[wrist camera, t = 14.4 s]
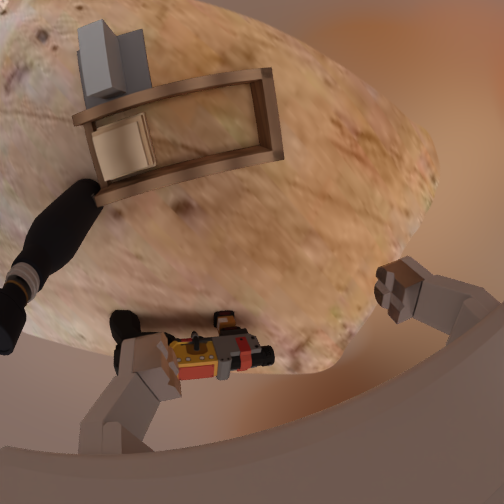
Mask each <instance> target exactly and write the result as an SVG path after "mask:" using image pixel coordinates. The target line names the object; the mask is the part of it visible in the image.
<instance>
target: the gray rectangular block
mask: <svg viewBox="0 0 504 504" xmlns="http://www.w3.org/2000/svg"><path fill="white" fill-rule="evenodd" d="M78 39H79V48H80V56H81V64H82V71H83V77H84V83H85V89H86V94H87V96H88V97H95V98H102V99H110V98H113V97H116V96H119V95H122V94H125V93H127V90H126V84H125V79H124V73H123V67H122V61H121V55H120V48H119V41H118V38H117V37H116V35H115V34H114V33H113V32H112V30H111V29H110V28H109V27H108V25H107V24H106V23H105V22H104V21H103V19H101V20H98V21H96V22H93V23H90V24H88V25H85V26H83V27H81V28H78Z"/></svg>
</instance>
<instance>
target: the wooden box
mask: <svg viewBox="0 0 504 504" xmlns="http://www.w3.org/2000/svg"><path fill="white" fill-rule="evenodd" d="M246 83H250V85H251V91H252V97H253V104H254V110H255V116H256V123H257V129H258V136H259V143H260V145H259V146H253V147H248V148H243V149H238V150H233V151H228V152H223V153H219V154H214V155H210V156H205V157H201V158H197V159H193V160H189V161H185V162H181V163H177V164H173V165H170V166H166V167H162V168H159V169H155V170H152V171H148V172H145V173H142V174H138V175H135V176H132V177H129V178H125V179H122V180H119V181H116V182H113V183H111V181H110V180H107V181H104V177H103V174H102V171H101V168H100V164H99V161H98V157H97V154H96V150H95V147H94V143H93V139H92V138H93V137H92V133H93V132H95V131H97V129H96V125H95V121H97V120H99V119H102V118H105V117H107V116H110V115H113V114H116V113H119V112H122V111H125V110H128V109H131V108H135V107H138V106H141V105H145V104H148V103H152V102H155V101H159V100H163V99H167V98H171V97H175V96H179V95H184V94H188V93H193V92H198V91H203V90H208V89H213V88H219V87H225V86H231V85H238V84H246ZM72 119H73V124H74V126H79V125H84V129H85V133H86V138H87V142H88V145H89V149H90V153H91V157H92V160H93V164H94V168H95V171H96V174H97V178H98V181H99V184H100V188H101V190H100V191H99V192H98V193H97V194H96V196H95V197H94V199H95V201H96V204H97V207H101V206H103V205H106V204H109V203H113V202H116V201H119V200H122V199H125V198H128V197H131V196H135V195H138V194H141V193H145V192H148V191H151V190H155V189H158V188H162V187H166V186H169V185H173V184H177V183H180V182H184V181H188V180H192V179H196V178H200V177H204V176H208V175H212V174H217V173H221V172H225V171H230V170H234V169H239V168H244V167H248V166H253V165H258V164H263V163H269V162H274V161H279V160H284V152H283V144H282V136H281V129H280V121H279V114H278V107H277V100H276V93H275V87H274V80H273V74H272V67H270V68H258V69H249V70H240V71H232V72H225V73H219V74H213V75H207V76H202V77H196V78H191V79H187V80H182V81H177V82H173V83H169V84H165V85H161V86H157V87H153V88H150V89H146V90H143V91H139V92H136V93H133V94H129V95H126V96H123V97H120V98H117V99H114V100H111V101H108V102H106V103H103V104H100V105H98V106H95V107H92V108H90V109H87V110H85V111H82V112H80V113H77V114H75V115H73V116H72Z"/></svg>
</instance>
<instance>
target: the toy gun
mask: <svg viewBox="0 0 504 504" xmlns="http://www.w3.org/2000/svg"><path fill="white" fill-rule="evenodd" d="M235 325H236V322H235V320H234V312H233V311H230V310H229V311H228V310H227V311H219V312H216V313H214V327H216V328H217V330H218V333H219V337H208V338H203V337H201V336H198V334H197V333H196V332H195V331H193V332H192V334H191V338H186V339H179V338H175V337H174V336H173V335H170V334H168V333H166V332H163V333H164V334H165V336H166V337H167V339H168V346H170V347H172V348H173V350H174V352H175V355H176V357H177V361H178V365H179V373H178V375H177V377H178V379H179V380H190V379H199V378H209V377H214V376H216V377H217V379H218V380H227V379H228V378H229V375H230V371H234V370H237V371H244V370H247V369H248V368H254V367H257V366H260V365H261V366H271V365H273V363H274V361H275V356H274V351H273V349H272V347H271V346H269V345H268V346H260V344H259V342H258V340H257V338H256V336H253V335H251V334H249V333H248V332H247V329H246V328H244V329H241V328H240V327H236V326H235ZM110 328H111V333H112V337H113V338H114V340H115V341H116V343H117V344H118V345H116V350H114V368H115V371H116V374H117V376H118V373H119V363H120V354H121V346H122V342H123V341H124V340H126V339H131V338H136V337H140V336H145V335H150V334H155V333H160V332H141V329H140V321H139V319H138V317H137V315H135V314H134V313H132V312H131V311H130V310H115V311H114V312H113V313H112V315H111V317H110Z"/></svg>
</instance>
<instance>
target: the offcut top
mask: <svg viewBox="0 0 504 504" xmlns="http://www.w3.org/2000/svg"><path fill="white" fill-rule="evenodd" d="M92 139H93V143H94V147H95V150H96V154H97V157H98V161H99V164H100V168H101V171H102V174H103V177H104V181H107V180H110V179H113V178H116V177H118V176H121V175H124V174H127V173H130V172H133V171H136V170H139V169H142V168H145V167H148V166H149V161H148V158H147V154H146V150H145V146H144V142H143V138H142V134H141V130H140V126H139V122H138V121H137V122H134V123H131V124H128V125H125V126H122V127H119V128H116V129H114V130H111V131H108V132H105V133H103V134H100V135H98V136H95V137H93V138H92Z"/></svg>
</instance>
